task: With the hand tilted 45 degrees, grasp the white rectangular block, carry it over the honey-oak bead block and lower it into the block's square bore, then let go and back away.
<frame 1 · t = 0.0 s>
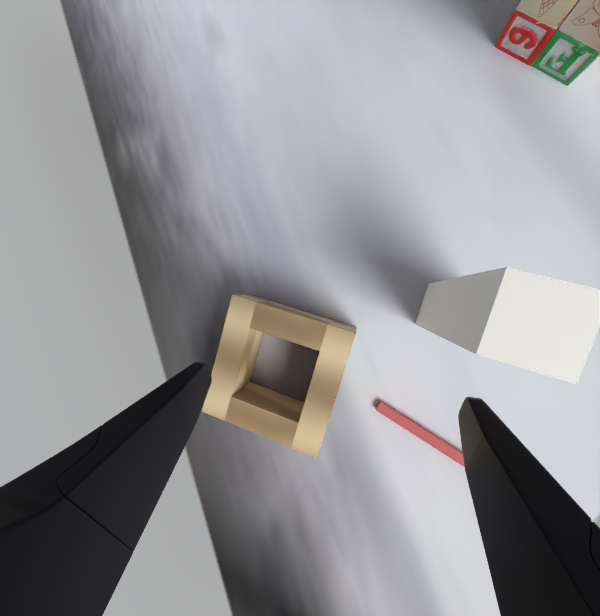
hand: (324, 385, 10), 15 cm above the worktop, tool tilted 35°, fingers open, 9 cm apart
red square stick: (454, 452, 23), on the worktop
white rectangular block: (443, 309, 23), on the worktop
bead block: (286, 362, 26), on the worktop
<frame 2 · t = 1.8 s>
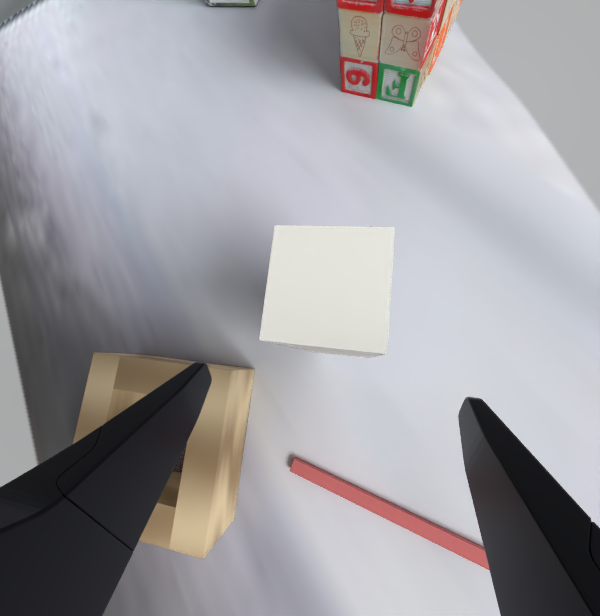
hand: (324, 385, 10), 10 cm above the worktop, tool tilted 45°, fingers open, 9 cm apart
red square stick: (397, 513, 17), on the worktop
white rectangular block: (343, 330, 20), on the worktop
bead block: (181, 429, 21), on the worktop
stack of blocks: (425, 0, 24), on the worktop
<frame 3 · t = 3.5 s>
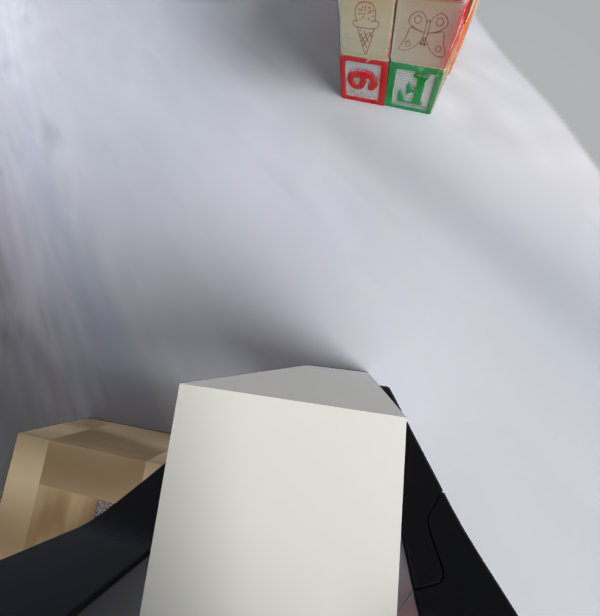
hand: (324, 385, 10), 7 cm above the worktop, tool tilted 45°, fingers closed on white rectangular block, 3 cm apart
white rectangular block: (334, 399, 16), on the worktop, touching gripper
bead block: (136, 516, 17), on the worktop
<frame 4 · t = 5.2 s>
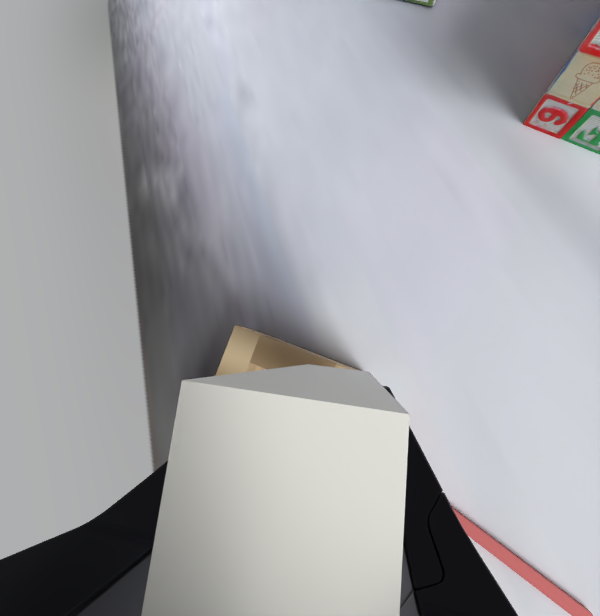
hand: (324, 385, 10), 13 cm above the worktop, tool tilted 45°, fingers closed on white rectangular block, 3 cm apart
red square stick: (476, 532, 19), on the worktop
white rectangular block: (335, 399, 16), point 7 cm above the worktop, touching gripper
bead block: (285, 407, 23), on the worktop
when the fingers open (8 cm above the worktop, at t = 7.1 s): white rectangular block drops 1 cm, resting in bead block.
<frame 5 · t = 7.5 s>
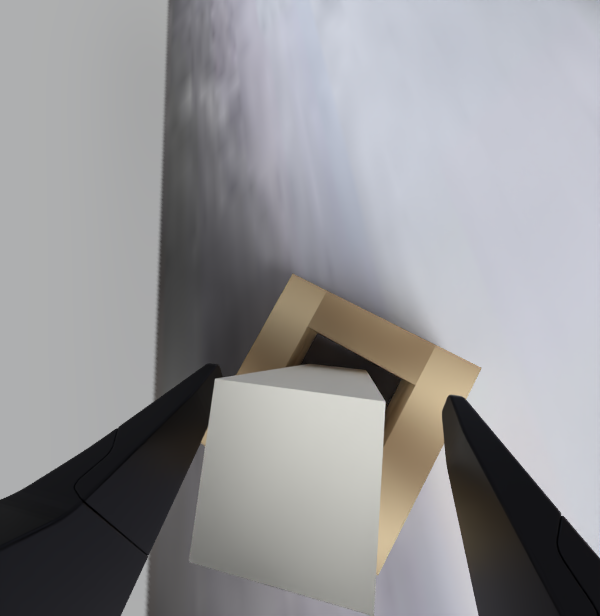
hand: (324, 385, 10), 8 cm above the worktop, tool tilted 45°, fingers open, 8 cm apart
white rectangular block: (335, 395, 17), resting in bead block
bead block: (336, 396, 17), on the worktop
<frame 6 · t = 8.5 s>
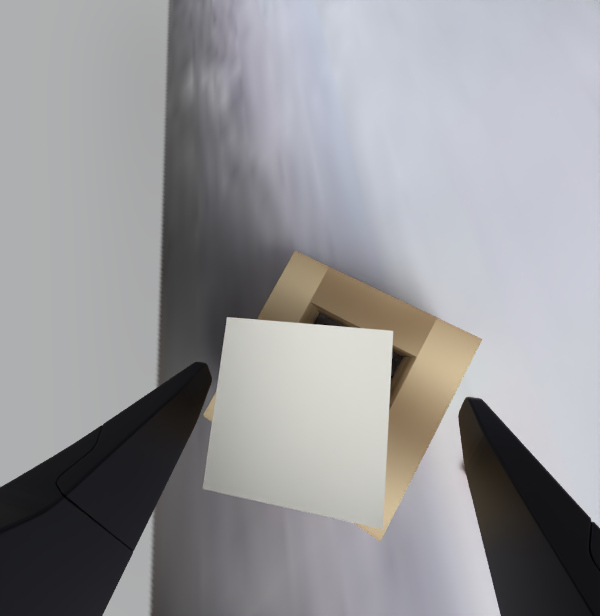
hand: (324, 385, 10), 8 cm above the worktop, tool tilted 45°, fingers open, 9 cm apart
white rectangular block: (337, 373, 18), resting in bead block
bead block: (337, 374, 18), on the worktop
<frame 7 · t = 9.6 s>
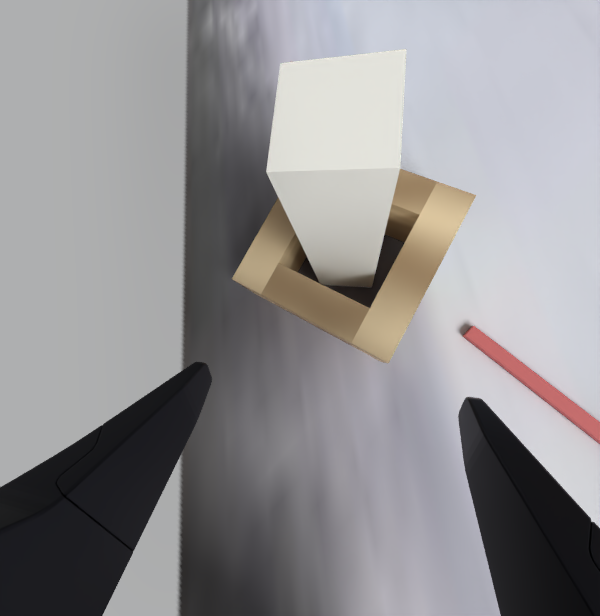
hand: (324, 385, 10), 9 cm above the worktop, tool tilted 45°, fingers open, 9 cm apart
red square stick: (575, 415, 16), on the worktop
white rectangular block: (347, 261, 20), resting in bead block
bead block: (348, 262, 20), on the worktop
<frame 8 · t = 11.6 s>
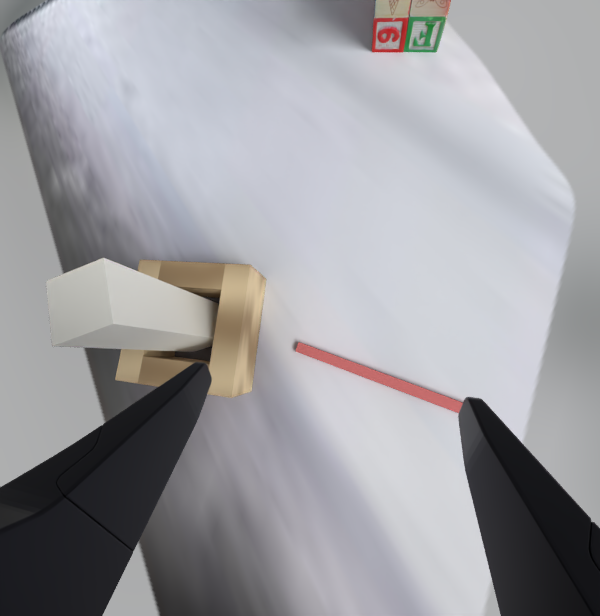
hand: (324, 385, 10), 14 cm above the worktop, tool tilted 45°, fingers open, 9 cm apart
red square stick: (378, 377, 22), on the worktop
white rectangular block: (207, 327, 26), resting in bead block
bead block: (207, 328, 26), on the worktop
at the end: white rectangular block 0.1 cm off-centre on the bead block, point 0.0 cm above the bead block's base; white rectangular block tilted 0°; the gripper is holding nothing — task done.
